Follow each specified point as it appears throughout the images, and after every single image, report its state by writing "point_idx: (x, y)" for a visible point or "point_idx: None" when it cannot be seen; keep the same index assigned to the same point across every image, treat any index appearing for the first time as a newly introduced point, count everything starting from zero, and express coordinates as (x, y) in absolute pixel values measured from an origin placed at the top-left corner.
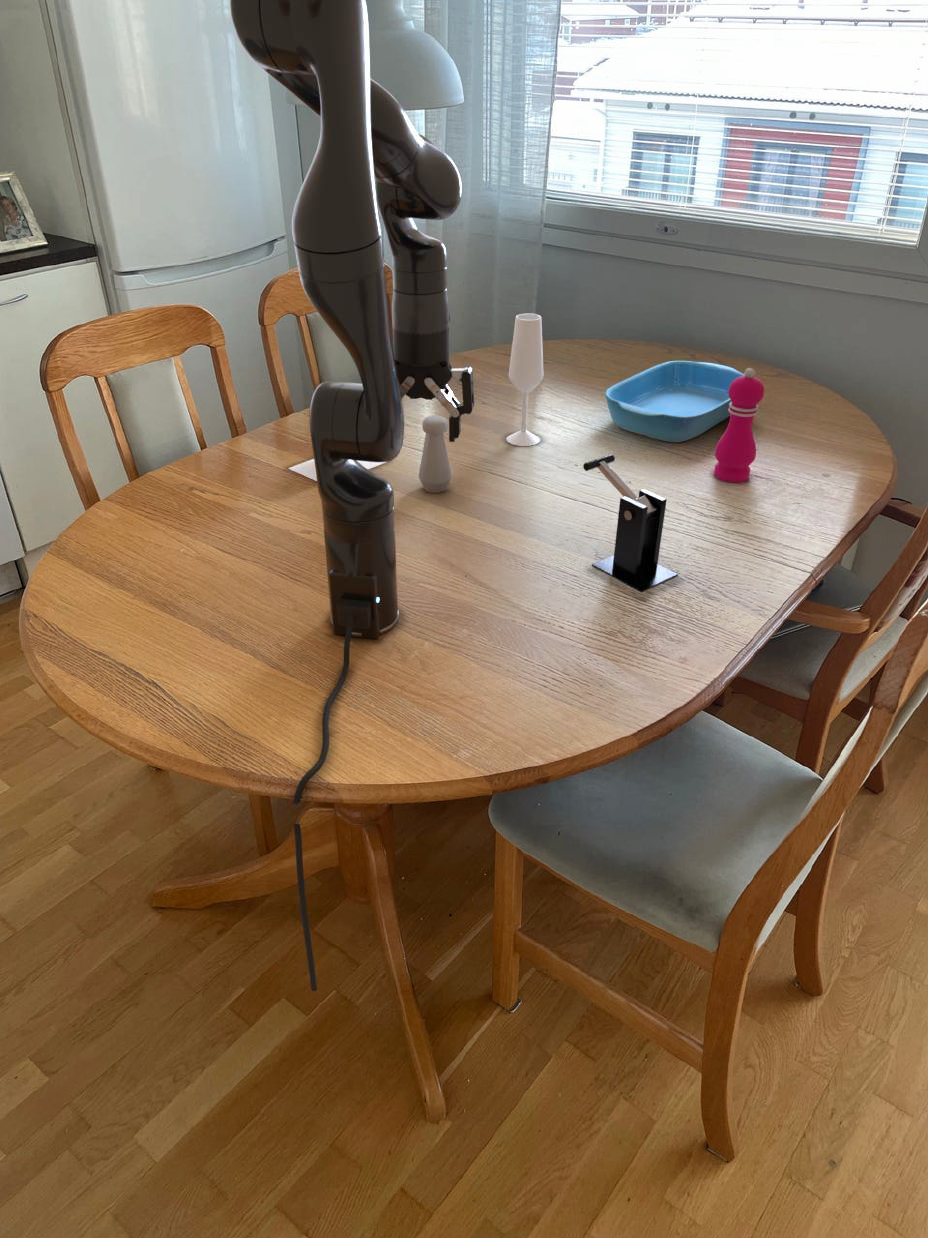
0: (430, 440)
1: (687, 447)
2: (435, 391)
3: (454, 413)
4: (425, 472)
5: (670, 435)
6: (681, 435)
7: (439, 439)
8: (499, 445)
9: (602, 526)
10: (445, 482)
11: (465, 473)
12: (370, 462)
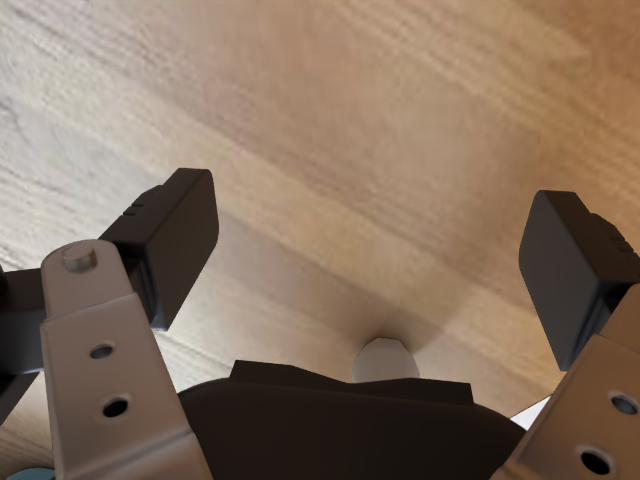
0: None
1: (20, 455)
2: (133, 413)
3: (76, 250)
4: (404, 370)
5: (35, 475)
6: (20, 474)
7: None
8: None
9: (46, 232)
10: (362, 352)
11: None
12: None
